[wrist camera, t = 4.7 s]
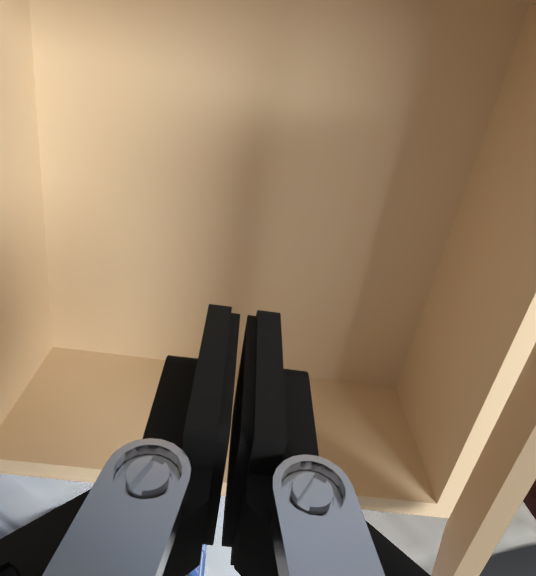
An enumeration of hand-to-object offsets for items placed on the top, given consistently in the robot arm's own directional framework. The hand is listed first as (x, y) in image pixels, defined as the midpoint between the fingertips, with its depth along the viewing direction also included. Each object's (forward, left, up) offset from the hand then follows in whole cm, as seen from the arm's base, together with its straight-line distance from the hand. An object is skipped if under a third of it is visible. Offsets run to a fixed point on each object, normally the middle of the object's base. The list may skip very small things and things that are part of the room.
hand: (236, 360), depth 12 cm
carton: (0, 0, -12) cm, 12 cm away
